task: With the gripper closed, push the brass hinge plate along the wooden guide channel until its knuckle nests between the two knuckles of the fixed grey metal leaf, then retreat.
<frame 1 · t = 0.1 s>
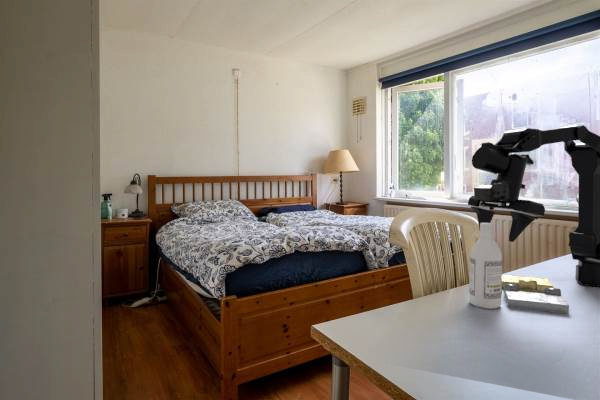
hand: (495, 238, 93), 15 cm above the table, tool pointing down, fingers open, 9 cm apart
brass hinge plate: (524, 287, 102), on the table
bath foam: (484, 305, 89), on the table
guide rails: (526, 289, 99), on the table
fixed leaf: (534, 305, 88), on the table
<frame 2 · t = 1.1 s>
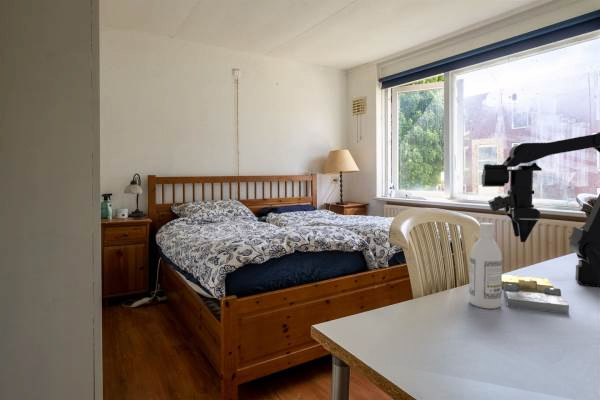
hand: (519, 239, 108), 12 cm above the table, tool pointing down, fingers open, 9 cm apart
nothing on the table moved.
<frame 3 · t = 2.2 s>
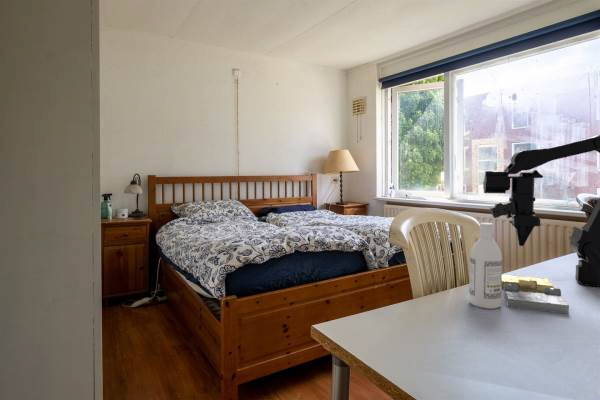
hand: (521, 245, 109), 10 cm above the table, tool pointing down, fingers closed
nothing on the table moved.
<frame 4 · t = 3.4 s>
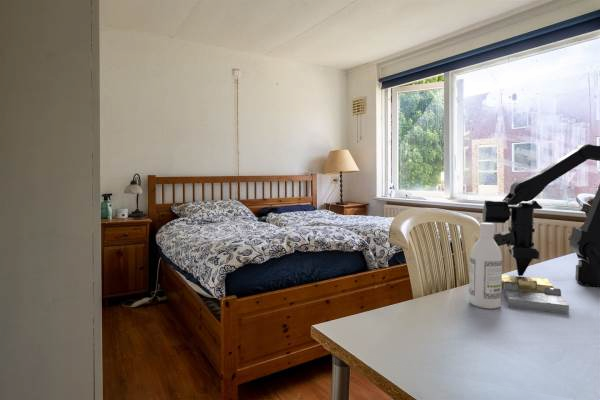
hand: (520, 275, 109), 1 cm above the table, tool pointing down, fingers closed
nothing on the table moved.
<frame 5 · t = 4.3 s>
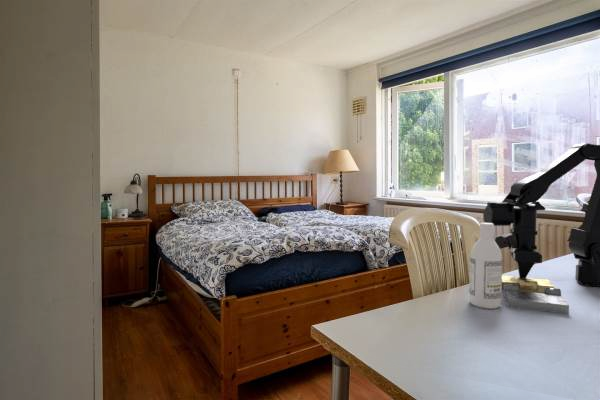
hand: (522, 279, 105), 1 cm above the table, tool pointing down, fingers closed
brass hinge plate: (525, 287, 101), on the table, touching gripper
everything else where it was.
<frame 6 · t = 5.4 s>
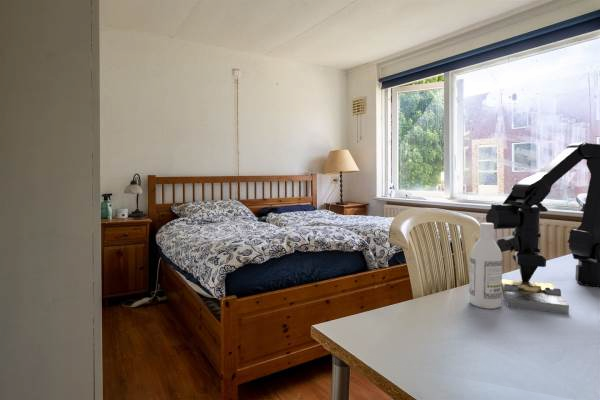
hand: (524, 283, 101), 1 cm above the table, tool pointing down, fingers closed
brass hinge plate: (527, 292, 97), on the table
everything else where it was.
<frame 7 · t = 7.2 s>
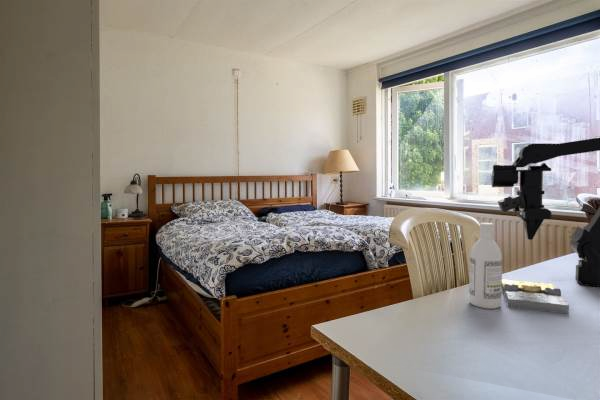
hand: (529, 239, 109), 12 cm above the table, tool pointing down, fingers closed
nothing on the table moved.
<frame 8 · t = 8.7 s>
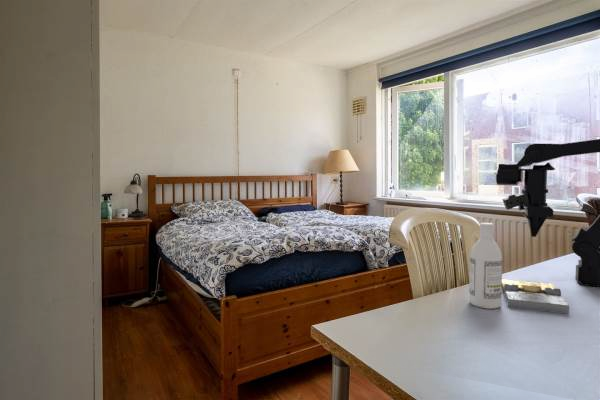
hand: (533, 236, 112), 12 cm above the table, tool pointing down, fingers closed
nothing on the table moved.
at the end: brass hinge plate 0.5 cm from the target spot on the table beside the fixed leaf, on the table; brass hinge plate on the table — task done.
